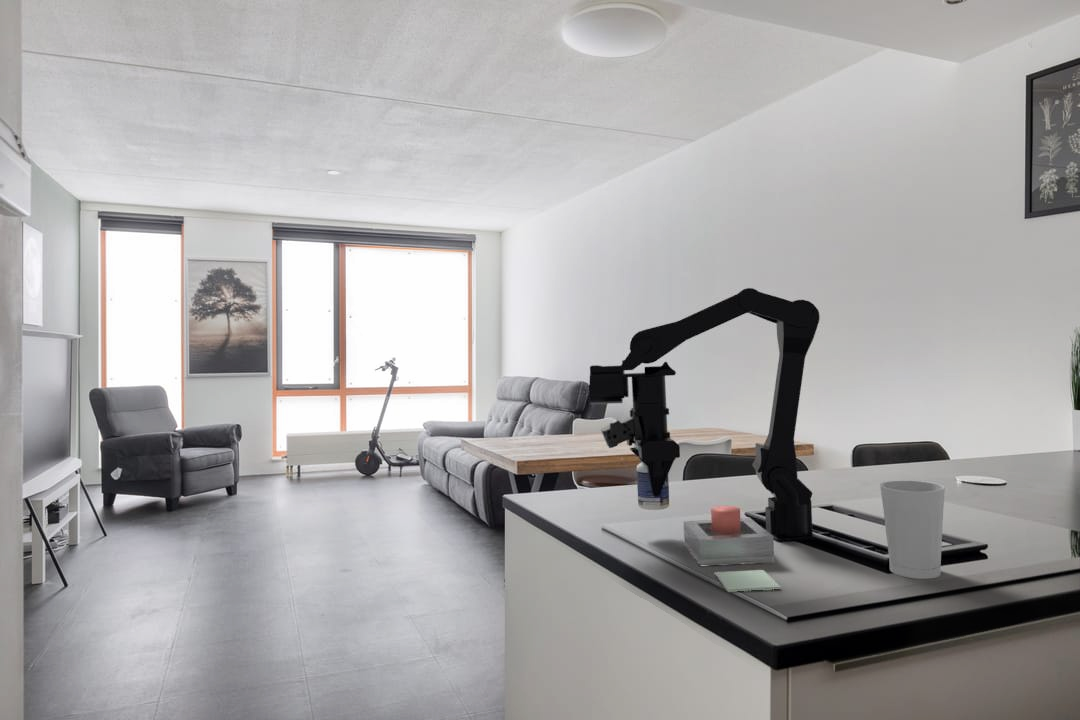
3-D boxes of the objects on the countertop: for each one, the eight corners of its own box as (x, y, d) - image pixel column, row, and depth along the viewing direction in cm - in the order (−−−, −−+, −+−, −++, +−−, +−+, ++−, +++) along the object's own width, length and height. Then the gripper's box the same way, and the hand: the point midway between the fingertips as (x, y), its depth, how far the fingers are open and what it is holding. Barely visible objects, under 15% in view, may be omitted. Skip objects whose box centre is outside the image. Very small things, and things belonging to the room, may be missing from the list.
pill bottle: (669, 510, 118) (666, 453, 118) (637, 510, 119) (634, 453, 119) (669, 503, 124) (667, 448, 123) (639, 503, 125) (636, 449, 125)
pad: (763, 572, 100) (763, 569, 100) (780, 589, 93) (780, 586, 93) (714, 575, 100) (714, 572, 100) (728, 592, 93) (728, 589, 93)
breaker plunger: (736, 526, 112) (735, 505, 112) (744, 533, 108) (743, 511, 107) (708, 527, 112) (707, 506, 112) (716, 534, 107) (715, 513, 107)
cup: (871, 564, 102) (868, 482, 101) (923, 560, 102) (921, 478, 102) (904, 582, 94) (901, 493, 94) (961, 578, 94) (958, 489, 94)
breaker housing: (751, 542, 115) (750, 518, 115) (774, 562, 104) (773, 536, 104) (684, 545, 115) (683, 521, 115) (700, 566, 104) (699, 539, 104)
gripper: (597, 400, 130) (601, 483, 131) (608, 409, 112) (613, 506, 112) (657, 397, 131) (661, 480, 131) (678, 406, 112) (682, 503, 112)
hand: (653, 492), depth 122 cm, fingers closed on pill bottle, 5 cm apart
